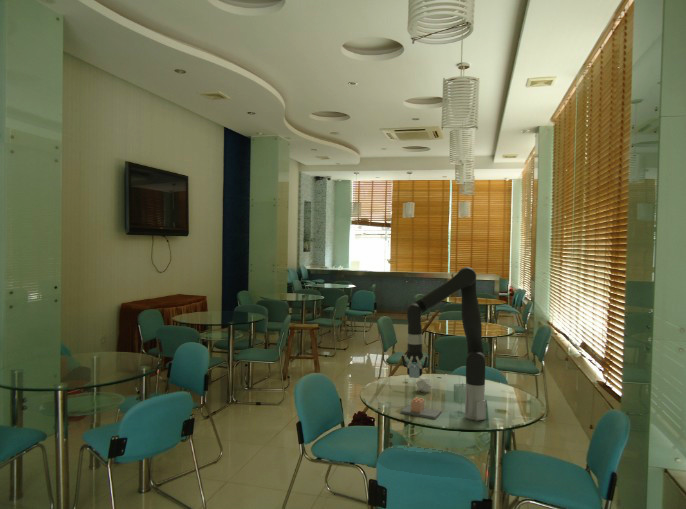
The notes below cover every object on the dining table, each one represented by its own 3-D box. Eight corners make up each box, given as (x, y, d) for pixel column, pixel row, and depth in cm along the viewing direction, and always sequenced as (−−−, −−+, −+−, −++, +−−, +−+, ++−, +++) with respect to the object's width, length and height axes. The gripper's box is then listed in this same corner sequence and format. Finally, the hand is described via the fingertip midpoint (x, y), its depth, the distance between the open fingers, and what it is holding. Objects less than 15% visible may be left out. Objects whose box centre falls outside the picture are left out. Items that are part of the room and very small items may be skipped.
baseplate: (441, 413, 265) (441, 410, 265) (435, 419, 255) (435, 416, 255) (408, 407, 273) (408, 404, 273) (400, 413, 263) (400, 410, 263)
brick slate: (419, 378, 263) (419, 366, 263) (409, 377, 264) (409, 366, 264) (420, 375, 269) (420, 364, 268) (410, 374, 270) (410, 363, 270)
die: (434, 392, 304) (428, 376, 309) (432, 388, 297) (427, 372, 302) (420, 396, 305) (415, 381, 310) (419, 392, 297) (413, 377, 303)
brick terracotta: (414, 407, 268) (415, 396, 268) (424, 409, 266) (424, 398, 266) (410, 410, 263) (411, 399, 263) (420, 412, 261) (420, 401, 261)
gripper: (399, 343, 264) (400, 376, 264) (428, 344, 260) (428, 378, 261) (401, 340, 271) (401, 373, 271) (429, 341, 268) (429, 374, 268)
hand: (414, 375), depth 266 cm, fingers closed on brick slate, 5 cm apart
